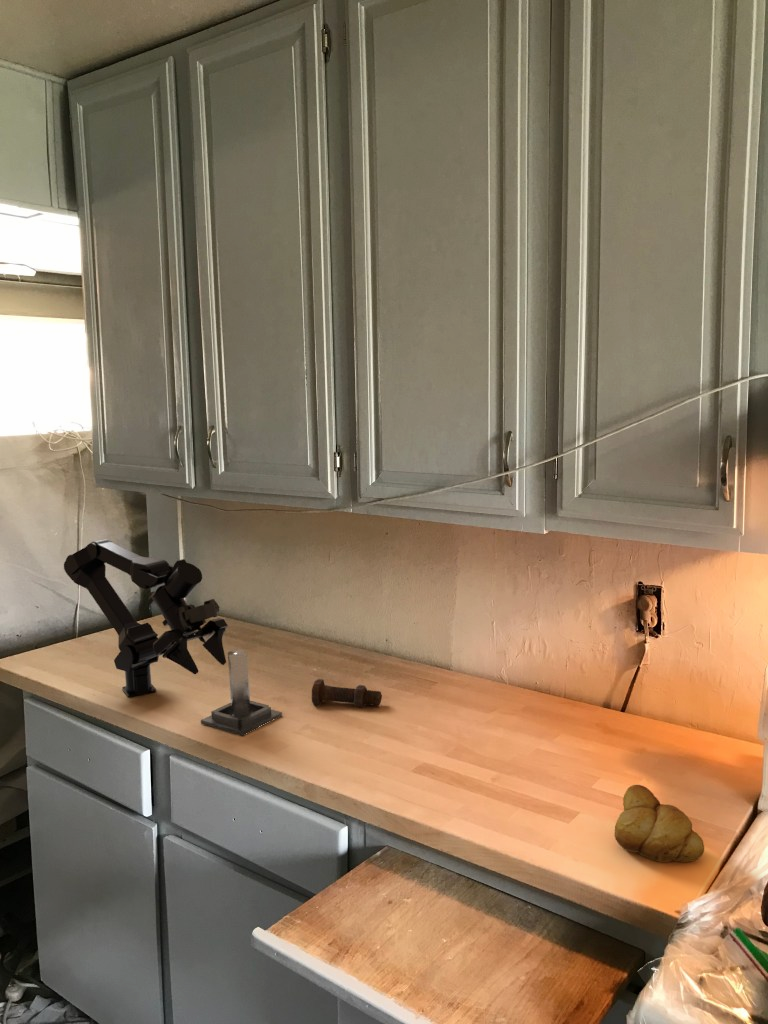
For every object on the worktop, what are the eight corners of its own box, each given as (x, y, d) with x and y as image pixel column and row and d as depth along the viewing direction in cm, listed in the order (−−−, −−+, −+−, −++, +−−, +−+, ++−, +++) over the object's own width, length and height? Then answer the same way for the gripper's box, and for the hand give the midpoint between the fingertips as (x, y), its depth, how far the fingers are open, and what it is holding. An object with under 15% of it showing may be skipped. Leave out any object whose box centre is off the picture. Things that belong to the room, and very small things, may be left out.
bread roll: (713, 853, 123) (715, 802, 122) (685, 882, 116) (687, 829, 115) (632, 823, 132) (633, 776, 131) (601, 849, 125) (602, 799, 124)
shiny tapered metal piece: (232, 712, 179) (228, 650, 176) (251, 711, 179) (247, 648, 177) (231, 720, 175) (226, 656, 172) (250, 719, 175) (246, 655, 173)
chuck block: (200, 723, 175) (200, 713, 175) (241, 704, 185) (240, 694, 185) (242, 735, 169) (241, 725, 168) (282, 715, 178) (281, 705, 178)
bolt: (379, 716, 182) (313, 709, 185) (384, 698, 185) (320, 691, 189) (376, 699, 178) (309, 692, 181) (381, 680, 182) (315, 674, 185)
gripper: (166, 594, 173) (204, 656, 169) (223, 583, 189) (260, 639, 185) (136, 624, 177) (172, 686, 173) (194, 611, 194) (229, 666, 190)
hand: (211, 668), depth 180 cm, fingers open, 9 cm apart
